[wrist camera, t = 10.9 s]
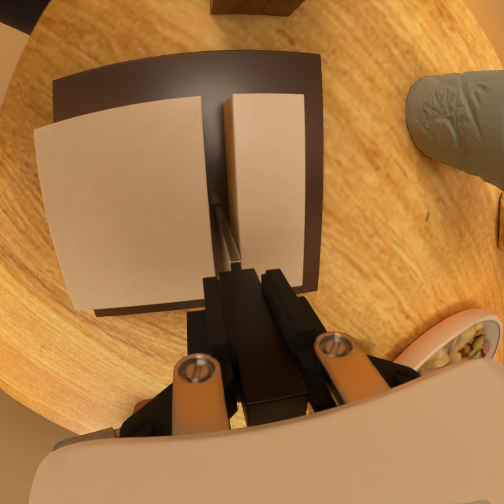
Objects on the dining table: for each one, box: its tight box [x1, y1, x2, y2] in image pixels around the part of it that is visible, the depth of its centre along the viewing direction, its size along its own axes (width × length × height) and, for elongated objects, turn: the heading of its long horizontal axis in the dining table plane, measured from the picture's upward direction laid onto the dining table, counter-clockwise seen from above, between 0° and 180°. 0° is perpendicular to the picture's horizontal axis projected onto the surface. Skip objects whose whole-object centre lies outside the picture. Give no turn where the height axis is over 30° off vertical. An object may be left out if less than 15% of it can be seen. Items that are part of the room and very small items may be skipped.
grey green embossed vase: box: [406, 70, 504, 191], centre depth 17 cm, size 10×10×12 cm
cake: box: [33, 96, 215, 311], centre depth 17 cm, size 12×10×5 cm
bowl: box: [393, 309, 503, 372], centre depth 36 cm, size 30×30×8 cm
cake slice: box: [223, 93, 305, 287], centre depth 19 cm, size 12×4×5 cm, turn 2°
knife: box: [215, 207, 309, 427], centre depth 14 cm, size 3×2×16 cm, turn 2°
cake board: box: [53, 50, 323, 317], centre depth 21 cm, size 20×20×1 cm
